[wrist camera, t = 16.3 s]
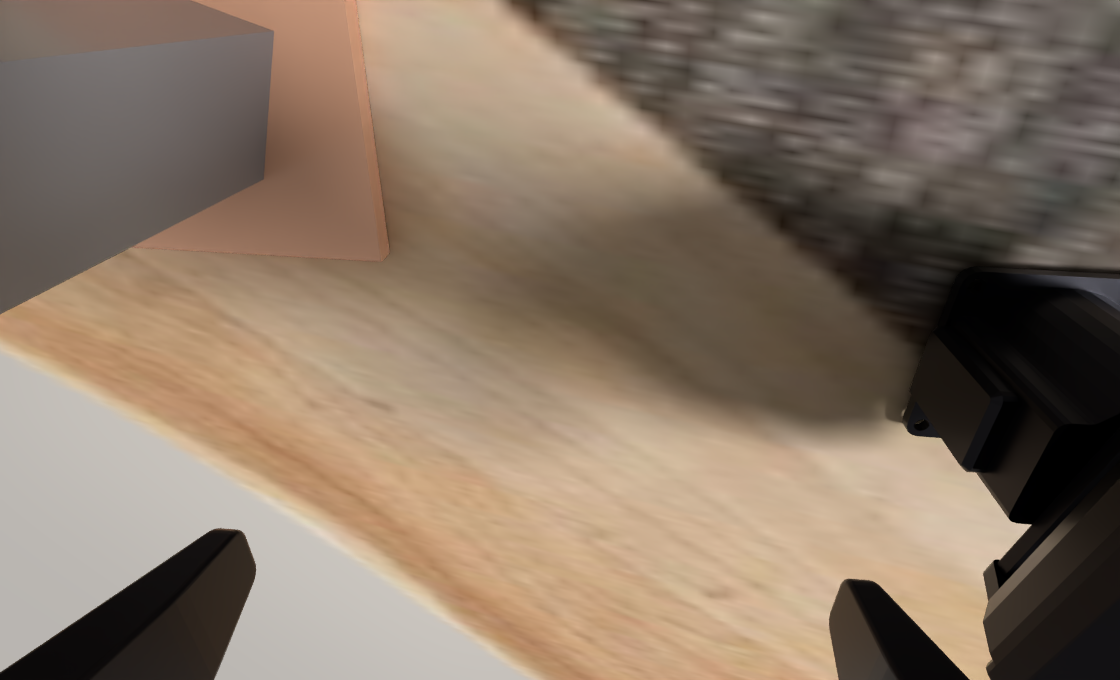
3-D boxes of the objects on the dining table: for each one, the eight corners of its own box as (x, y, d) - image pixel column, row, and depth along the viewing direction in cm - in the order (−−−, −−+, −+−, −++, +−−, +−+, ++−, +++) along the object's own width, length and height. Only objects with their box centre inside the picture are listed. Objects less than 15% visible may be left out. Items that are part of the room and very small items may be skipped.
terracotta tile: (336, -145, 16) (322, -152, 15) (389, 253, 21) (381, 261, 20) (-18, -146, 16) (-46, -151, 16) (123, 237, 22) (106, 245, 21)
